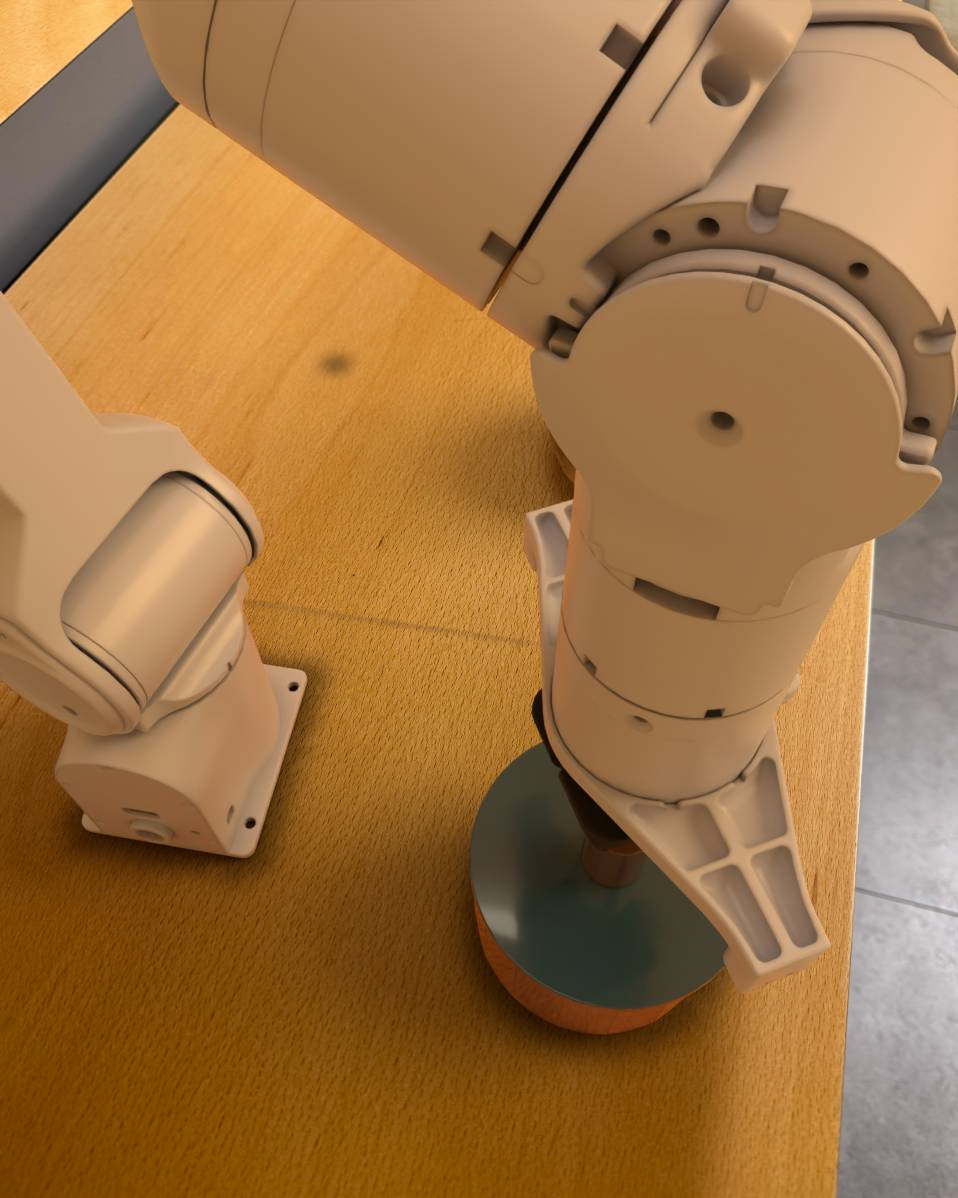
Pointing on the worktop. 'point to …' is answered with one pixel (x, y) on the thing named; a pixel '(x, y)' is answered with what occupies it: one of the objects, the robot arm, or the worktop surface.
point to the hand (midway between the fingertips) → (620, 825)
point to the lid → (582, 901)
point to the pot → (556, 1007)
